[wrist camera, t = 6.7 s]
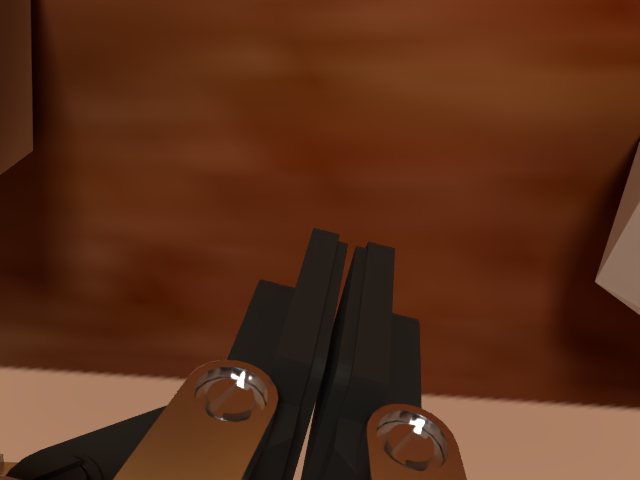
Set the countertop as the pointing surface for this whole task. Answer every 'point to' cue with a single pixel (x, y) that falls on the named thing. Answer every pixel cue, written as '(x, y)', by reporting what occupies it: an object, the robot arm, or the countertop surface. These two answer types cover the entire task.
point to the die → (624, 245)
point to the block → (15, 82)
